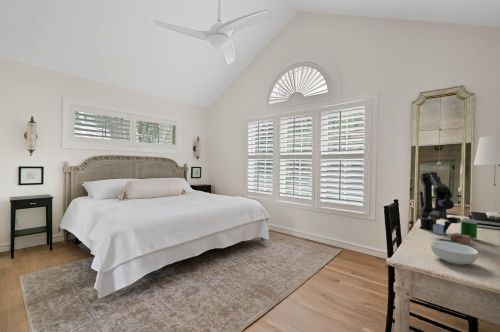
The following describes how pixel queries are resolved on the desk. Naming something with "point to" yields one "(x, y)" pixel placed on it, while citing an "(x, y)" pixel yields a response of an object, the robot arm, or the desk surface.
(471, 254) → the cereal bowl
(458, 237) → the walnut plinth
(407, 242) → the desk surface
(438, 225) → the blue cube
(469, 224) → the soda can
